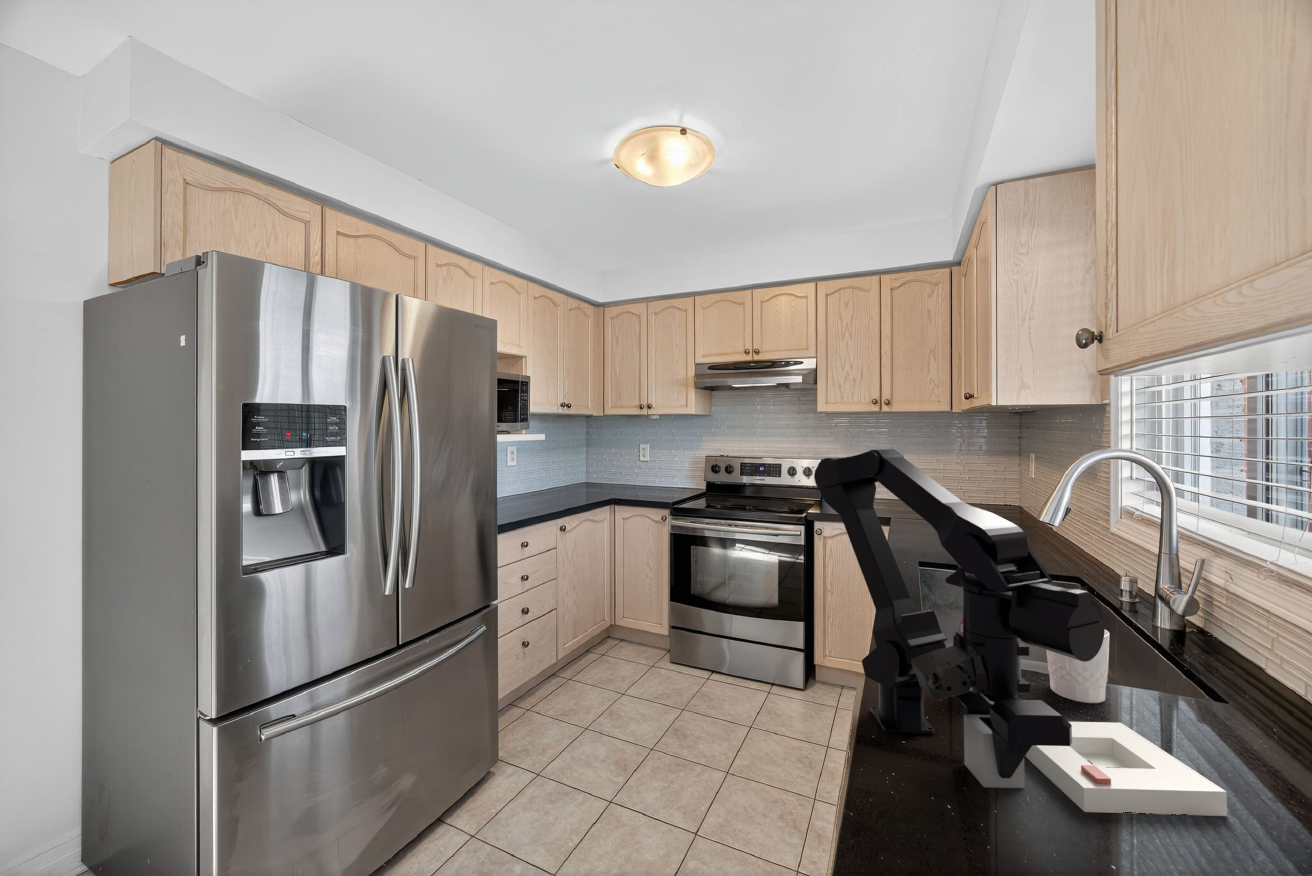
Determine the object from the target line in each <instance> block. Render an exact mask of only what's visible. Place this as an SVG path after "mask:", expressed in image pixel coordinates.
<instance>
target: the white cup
mask: <svg viewBox="0 0 1312 876" xmlns="http://www.w3.org/2000/svg"><path fill="white" fill-rule="evenodd" d="M1109 657H1110V632H1109V631H1108V630H1106V629H1105V628H1104V639H1103V643H1102V646H1101V648H1100V650H1099V652H1098V654H1097V655H1096V656H1095V657H1094V658H1093V659H1092V660H1090V661H1087V662H1083V661H1079V660H1076V659H1073V658H1070V657H1067V656H1064V655H1061V654H1058V653H1055V652H1052V651H1049V650H1046V659H1047V669H1048V672H1049V685H1050V689H1051V691H1052V692H1053V693H1055V694H1057V695H1058V696H1061V697H1062V698H1066V699H1069V700H1072V701H1075V702H1080V703H1086V704H1100V703H1102V702H1105V701H1106V689H1107V682H1108V675H1109Z"/></svg>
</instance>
